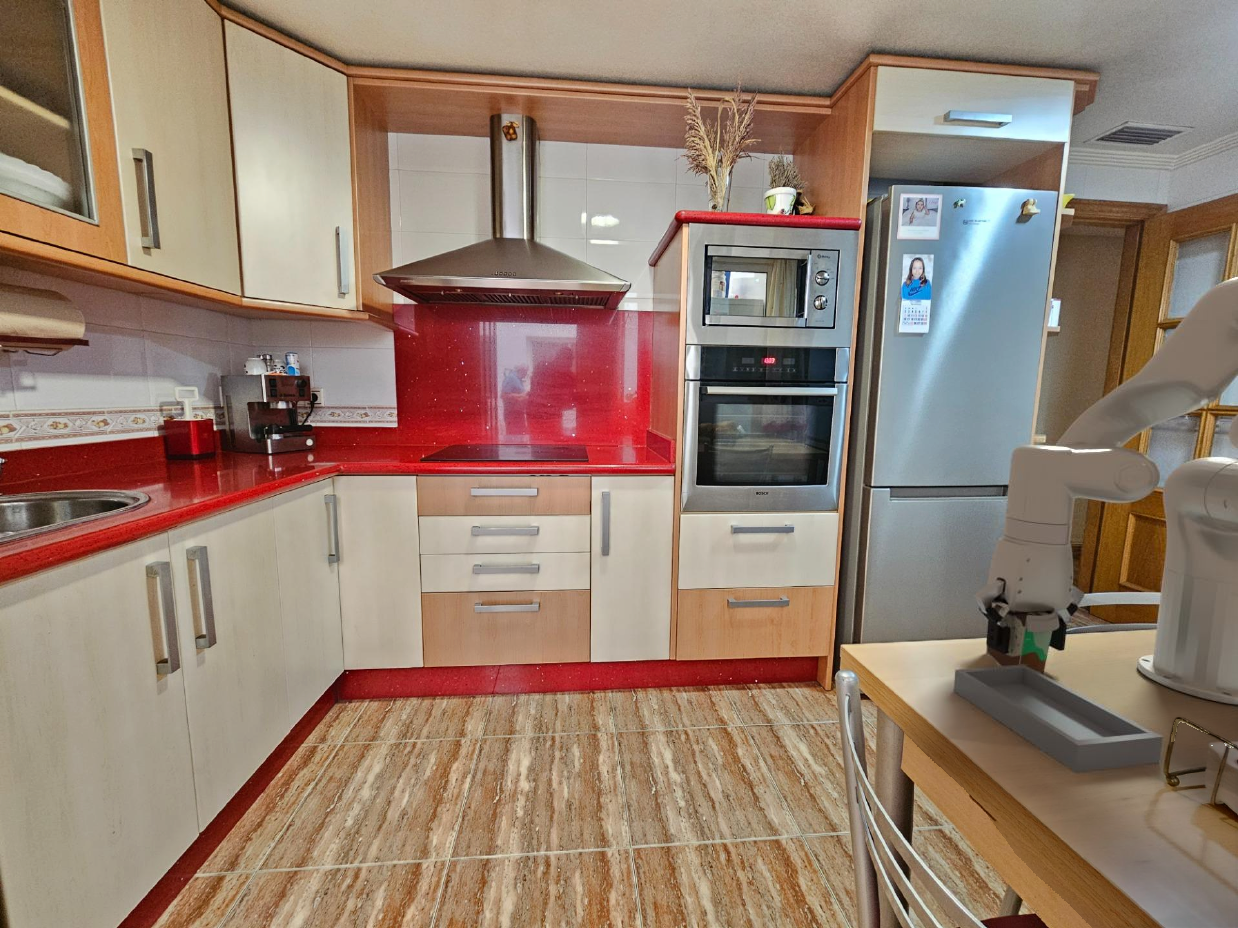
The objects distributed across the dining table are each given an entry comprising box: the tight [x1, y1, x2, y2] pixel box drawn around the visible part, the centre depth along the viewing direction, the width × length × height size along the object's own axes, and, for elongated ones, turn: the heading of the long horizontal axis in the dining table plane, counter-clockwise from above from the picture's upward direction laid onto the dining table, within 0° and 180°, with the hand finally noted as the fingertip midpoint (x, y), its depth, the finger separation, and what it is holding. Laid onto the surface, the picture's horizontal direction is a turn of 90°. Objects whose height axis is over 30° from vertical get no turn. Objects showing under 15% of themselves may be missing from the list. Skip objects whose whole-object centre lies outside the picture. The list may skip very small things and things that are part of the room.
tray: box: [953, 665, 1163, 773], centre depth 66 cm, size 11×17×3 cm, turn 9°
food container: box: [985, 603, 1059, 675], centre depth 79 cm, size 12×6×10 cm, turn 168°
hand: (1024, 647), depth 79 cm, fingers open, 8 cm apart
